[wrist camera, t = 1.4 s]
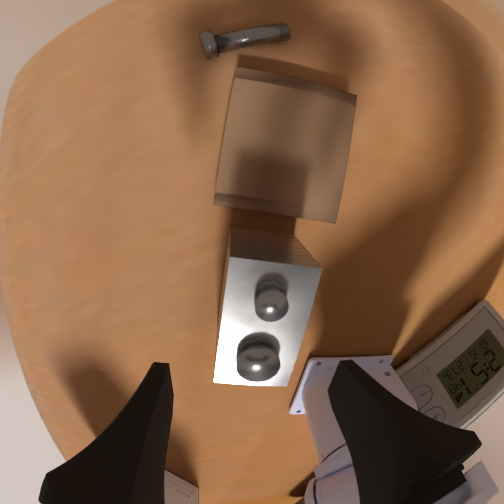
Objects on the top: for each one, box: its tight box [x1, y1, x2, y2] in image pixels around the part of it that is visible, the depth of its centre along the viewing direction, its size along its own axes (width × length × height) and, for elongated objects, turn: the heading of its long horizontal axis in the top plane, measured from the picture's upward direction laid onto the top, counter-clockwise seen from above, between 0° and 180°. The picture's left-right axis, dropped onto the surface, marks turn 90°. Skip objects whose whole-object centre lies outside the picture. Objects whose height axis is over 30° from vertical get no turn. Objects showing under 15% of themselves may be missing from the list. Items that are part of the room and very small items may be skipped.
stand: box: [213, 67, 357, 224], centre depth 16 cm, size 8×9×2 cm
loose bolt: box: [199, 23, 290, 60], centre depth 13 cm, size 6×2×2 cm, turn 106°
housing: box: [214, 226, 323, 386], centre depth 17 cm, size 4×8×7 cm, turn 171°
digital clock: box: [394, 300, 504, 429], centre depth 20 cm, size 16×9×11 cm, turn 110°
